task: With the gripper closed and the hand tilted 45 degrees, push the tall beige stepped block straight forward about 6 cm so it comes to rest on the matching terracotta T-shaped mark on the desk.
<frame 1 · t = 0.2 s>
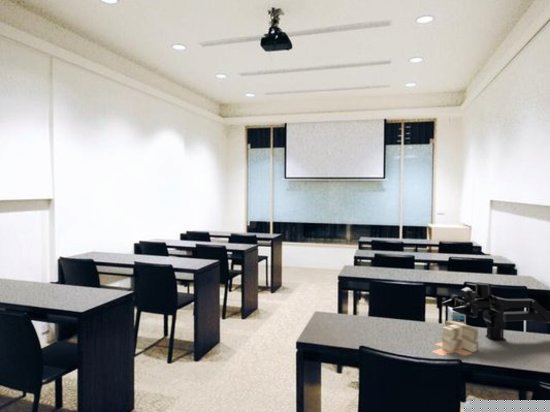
hand: (447, 306, 188), 16 cm above the table, tool horizontal, fingers open, 9 cm apart
light bulb box: (456, 330, 204), on the table
beige stepped block: (458, 346, 179), on the table, touching t mark
t mark: (450, 349, 176), on the table
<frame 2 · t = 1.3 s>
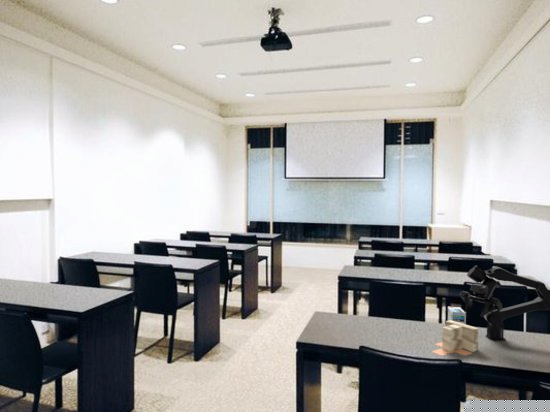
hand: (472, 314, 185), 14 cm above the table, tool tilted 45°, fingers open, 7 cm apart
nothing on the table moved.
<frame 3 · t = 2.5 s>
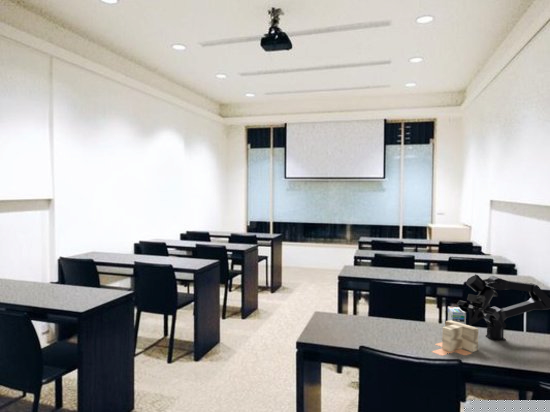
hand: (470, 324, 184), 9 cm above the table, tool tilted 45°, fingers closed
nothing on the table moved.
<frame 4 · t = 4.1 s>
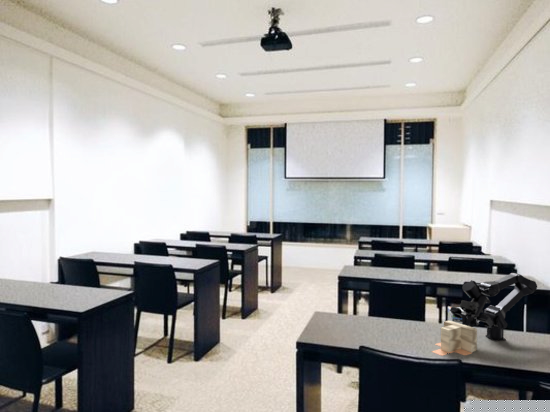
hand: (462, 331, 181), 7 cm above the table, tool tilted 45°, fingers closed
beige stepped block: (457, 347, 179), on the table, touching t mark
everything else where it was.
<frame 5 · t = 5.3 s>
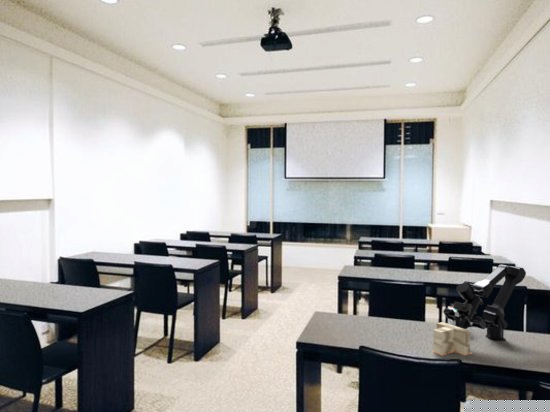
hand: (455, 333, 178), 7 cm above the table, tool tilted 45°, fingers closed, pressing on beige stepped block
beige stepped block: (450, 349, 176), on the table, touching gripper, t mark
everything else where it was.
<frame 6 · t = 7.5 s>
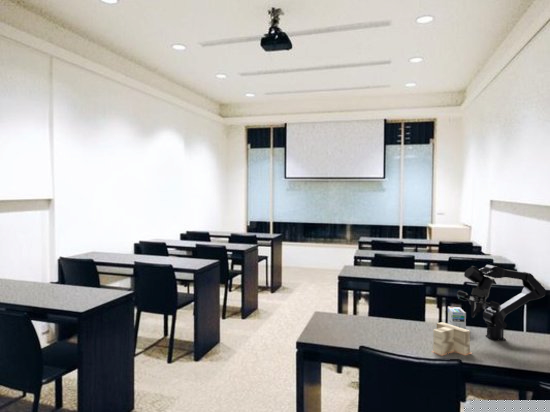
hand: (472, 317, 184), 12 cm above the table, tool tilted 35°, fingers closed
beige stepped block: (449, 349, 176), on the table, touching t mark
everything else where it was.
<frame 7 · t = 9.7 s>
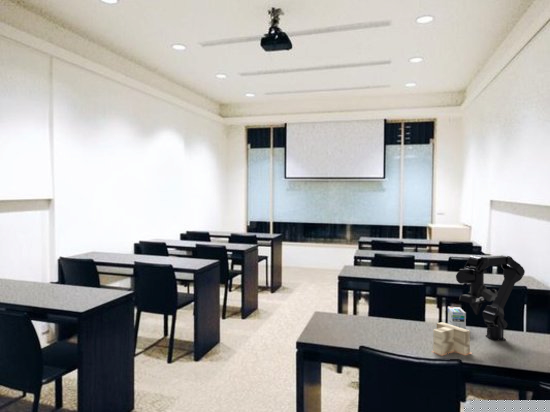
hand: (476, 314, 186), 13 cm above the table, tool pointing down, fingers closed
nothing on the table moved.
at the end: beige stepped block 0.3 cm off-centre on the t mark, point 0.0 cm above the t mark's base; beige stepped block tilted 0° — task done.
